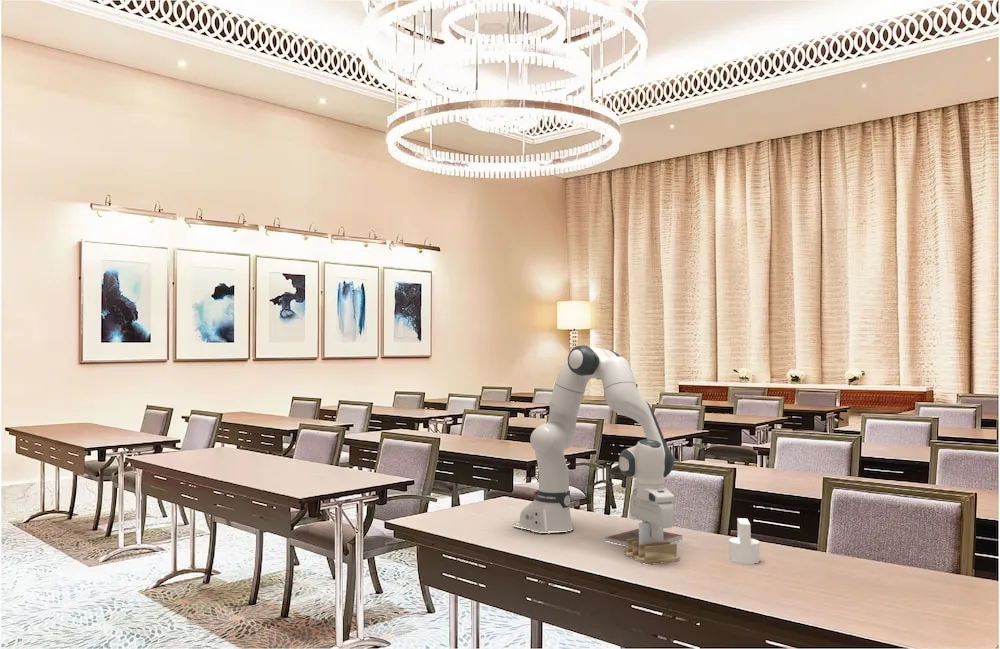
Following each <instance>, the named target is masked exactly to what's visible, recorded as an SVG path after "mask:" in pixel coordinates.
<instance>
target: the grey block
mask: <svg viewBox="0 0 1000 649" xmlns="http://www.w3.org/2000/svg"><path fill="white" fill-rule="evenodd" d="M638 529H639V544H645V543H654V542H663V531H664V528H662V527H659V530H658V532H657V538H652V537H650V532H651V531H652V527H651V523H648V522H644V523H642V522H638Z"/></svg>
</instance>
